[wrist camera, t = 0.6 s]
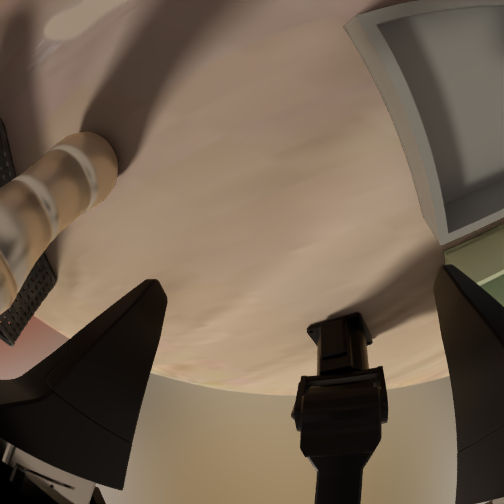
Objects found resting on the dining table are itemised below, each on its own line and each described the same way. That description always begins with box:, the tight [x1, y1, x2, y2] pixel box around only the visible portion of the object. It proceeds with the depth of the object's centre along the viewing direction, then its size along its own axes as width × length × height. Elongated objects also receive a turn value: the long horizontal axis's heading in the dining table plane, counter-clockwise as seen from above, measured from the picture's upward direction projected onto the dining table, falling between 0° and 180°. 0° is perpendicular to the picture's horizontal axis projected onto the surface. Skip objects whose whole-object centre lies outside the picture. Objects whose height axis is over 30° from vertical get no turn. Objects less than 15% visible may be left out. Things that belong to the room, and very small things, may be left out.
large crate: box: [343, 0, 504, 246], centre depth 11 cm, size 16×16×4 cm
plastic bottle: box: [0, 132, 118, 315], centre depth 13 cm, size 6×7×20 cm
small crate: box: [444, 224, 504, 306], centre depth 19 cm, size 6×9×5 cm
